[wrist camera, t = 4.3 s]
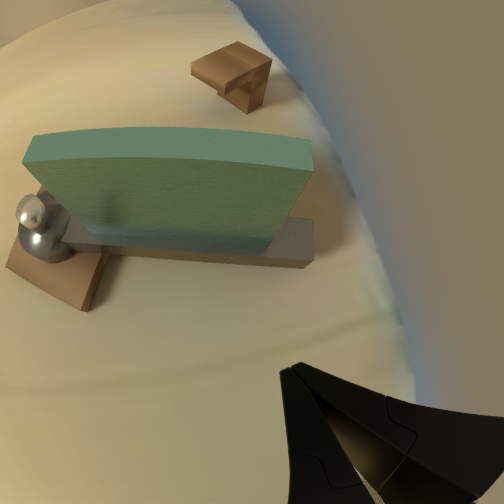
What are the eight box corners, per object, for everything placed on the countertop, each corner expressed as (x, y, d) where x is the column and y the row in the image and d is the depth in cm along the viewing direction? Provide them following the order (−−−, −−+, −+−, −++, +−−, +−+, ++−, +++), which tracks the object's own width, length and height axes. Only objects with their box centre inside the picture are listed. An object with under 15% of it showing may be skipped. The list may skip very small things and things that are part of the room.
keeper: (222, 130, 21) (225, 83, 16) (192, 109, 22) (190, 62, 17) (262, 103, 23) (272, 59, 18) (233, 85, 23) (238, 41, 18)
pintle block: (88, 312, 16) (80, 310, 15) (13, 270, 16) (5, 266, 15) (131, 205, 19) (127, 197, 17) (54, 180, 18) (48, 172, 17)
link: (27, 260, 15) (-65, 206, 6) (42, 202, 16) (-31, 126, 7) (303, 284, 17) (391, 229, 8) (302, 217, 18) (370, 121, 9)
